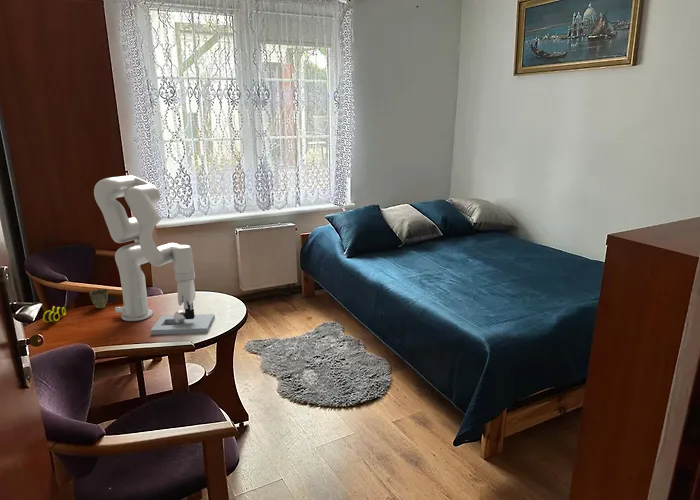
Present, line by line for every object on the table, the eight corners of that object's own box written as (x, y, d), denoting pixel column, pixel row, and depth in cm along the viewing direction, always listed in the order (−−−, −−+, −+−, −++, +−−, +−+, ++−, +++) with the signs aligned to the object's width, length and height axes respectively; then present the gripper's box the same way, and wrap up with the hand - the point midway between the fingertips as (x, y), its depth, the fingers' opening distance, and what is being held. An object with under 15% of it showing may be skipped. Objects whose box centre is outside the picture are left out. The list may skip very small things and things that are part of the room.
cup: (92, 306, 224) (90, 289, 222) (110, 303, 227) (108, 287, 225) (91, 311, 218) (88, 294, 216) (109, 309, 221) (107, 292, 219)
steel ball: (188, 319, 199) (179, 327, 199) (190, 313, 203) (181, 321, 204) (178, 311, 197) (169, 319, 198) (181, 306, 202) (172, 313, 202)
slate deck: (151, 334, 194) (150, 330, 194) (162, 320, 209) (161, 315, 208) (207, 332, 196) (207, 328, 195) (214, 318, 210) (214, 314, 210)
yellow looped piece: (56, 323, 205) (54, 312, 204) (43, 324, 205) (41, 313, 204) (67, 314, 215) (66, 304, 213) (55, 315, 214) (53, 304, 213)
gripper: (180, 271, 203) (185, 312, 208) (170, 281, 189) (176, 326, 193) (198, 270, 204) (203, 311, 208) (190, 280, 189) (195, 324, 194)
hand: (190, 318), depth 201 cm, fingers closed
